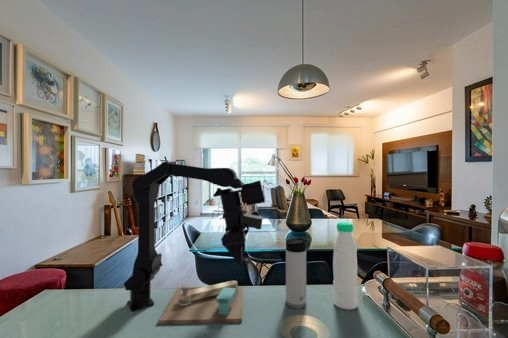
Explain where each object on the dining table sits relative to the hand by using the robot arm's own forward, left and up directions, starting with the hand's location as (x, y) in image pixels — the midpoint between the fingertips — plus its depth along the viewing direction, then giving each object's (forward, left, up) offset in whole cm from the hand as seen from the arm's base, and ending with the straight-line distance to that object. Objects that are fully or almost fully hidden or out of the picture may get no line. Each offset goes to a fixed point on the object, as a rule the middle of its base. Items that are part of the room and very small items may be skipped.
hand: (241, 259), depth 76 cm
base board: (-8, -8, -14) cm, 18 cm away
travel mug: (+9, +15, -15) cm, 23 cm away
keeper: (-6, -9, -13) cm, 18 cm away
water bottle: (+19, +26, -15) cm, 35 cm away
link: (-11, -5, -13) cm, 18 cm away
